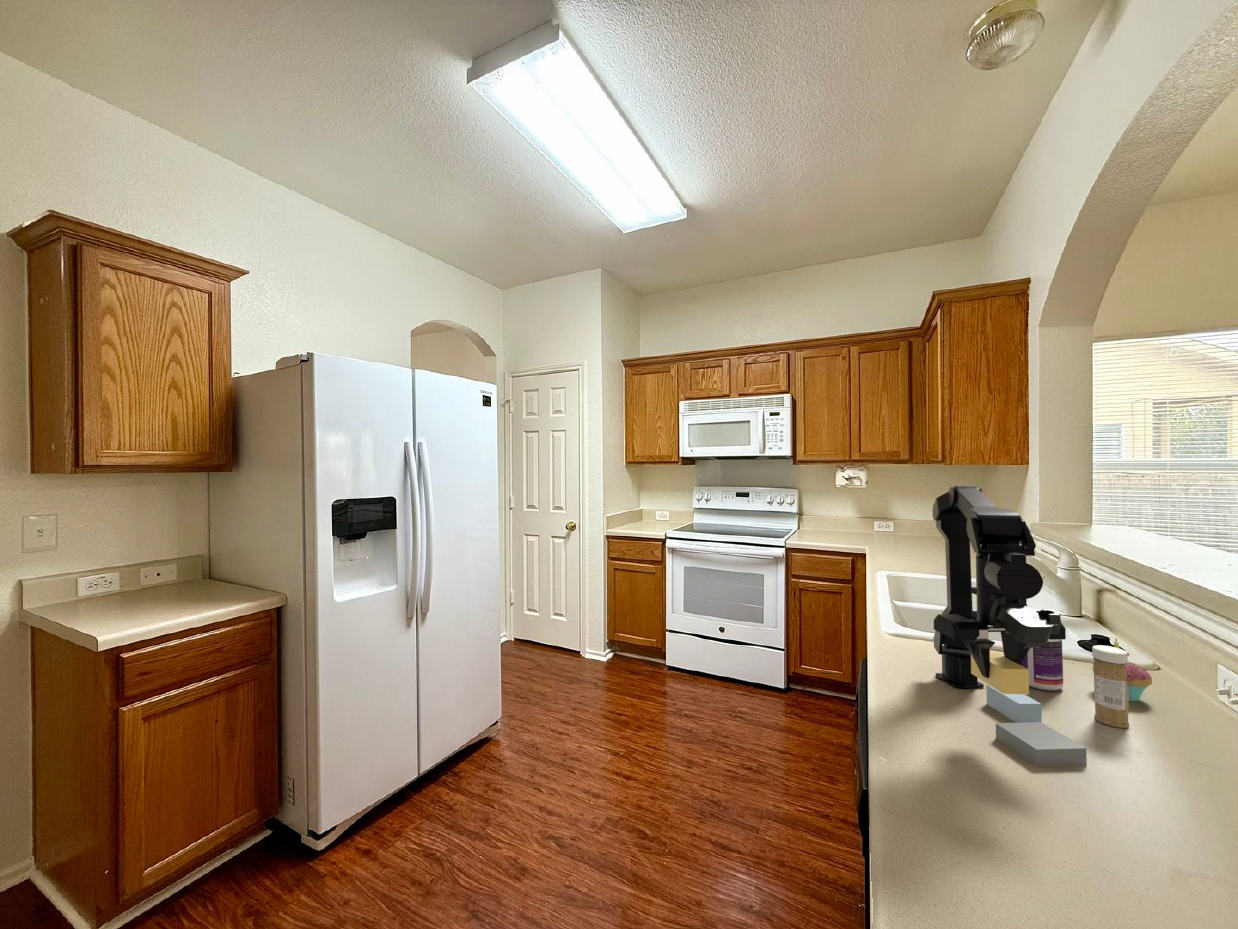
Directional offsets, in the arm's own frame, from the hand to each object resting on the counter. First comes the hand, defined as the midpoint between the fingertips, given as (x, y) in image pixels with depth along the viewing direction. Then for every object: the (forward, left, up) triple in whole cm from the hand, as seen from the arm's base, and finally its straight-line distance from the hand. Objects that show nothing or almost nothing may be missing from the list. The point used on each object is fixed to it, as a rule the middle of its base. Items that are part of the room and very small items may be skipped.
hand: (998, 677), depth 83 cm
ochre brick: (0, 0, -1) cm, 1 cm away
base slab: (+3, +4, -12) cm, 13 cm away
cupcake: (-15, +38, -11) cm, 43 cm away
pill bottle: (-21, +26, -11) cm, 36 cm away
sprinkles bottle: (-5, +25, -11) cm, 28 cm away
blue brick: (-9, +10, -11) cm, 18 cm away
